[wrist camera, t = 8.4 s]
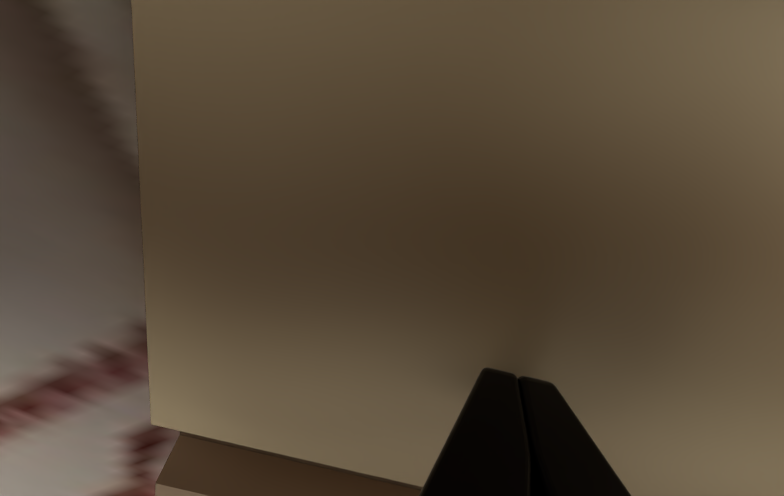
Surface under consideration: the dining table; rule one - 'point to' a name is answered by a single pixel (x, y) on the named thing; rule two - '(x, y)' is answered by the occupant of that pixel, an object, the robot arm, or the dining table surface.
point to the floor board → (261, 474)
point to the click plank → (467, 226)
